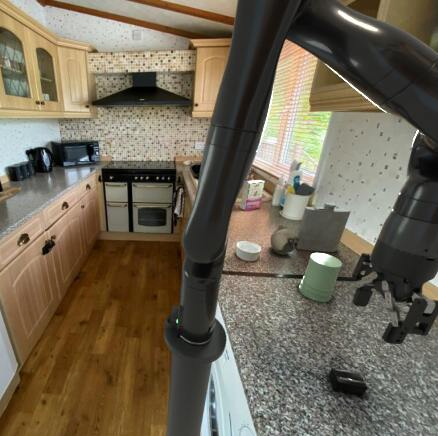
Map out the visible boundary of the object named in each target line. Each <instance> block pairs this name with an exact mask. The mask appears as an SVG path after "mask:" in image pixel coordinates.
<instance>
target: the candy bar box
mask: <svg viewBox="0 0 438 436" xmlns="http://www.w3.org/2000/svg"><path fill="white" fill-rule="evenodd" d="M265 183H266V181H264V180H261V179H253V180H246V181H245V183H244V185H243V187H242V193H241V199H240V205H239V208H240V209H241V210H243V211H251V210H259V209H260V208H261V205H262V199H263V194H264V190H265V189H264V188H265Z"/></svg>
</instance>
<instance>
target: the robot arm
mask: <svg viewBox="0 0 438 436" xmlns="http://www.w3.org/2000/svg"><path fill="white" fill-rule="evenodd" d="M286 40H287V41H289V42H291V43H292V44H294V45H296V46H297V47H300V48H301V49H303V50H304V51H306V52H307V53H309V54H310V55H312V56H314V58H316V59H318V60H319V61H321V62H322V63H323V64H324V65H326V66H327V67H328V68H329V69H330V70H331V71H333V73H335V74H336V75H337V76H339V77H340V78H341V79H343V81H344V82H346V83H347V84H348V85H350V86H351V87H352V88H353V89H355V90H356V91H357V92H358V93H359V94H361V95H362V96H363V97H365V98H366V99H367V100H368V101H370V102H371V103H372V104H373V105H374V106H377V107H378V108H379V109H380V110H382V111H383V112H385V113H387V114H389V115H391V116H393V117H396V118H400V119H402V120H404V121H405V122H407V123H408V124H409V125H410V126H412V127H413V128H414V129H415V130H417V131H416V133H415V134H414V135H415V136H414V137H413V141H412V144H411V148H410V153H409V157H408V162H407V167H406V175H405V180H404V183H403V185H402V186H401V189H400V190H399V193H398V195H397V197H396V199H395V202H394V204H393V207H392V209H391V211H390V212H389V214H388V216H387V217H386V219H385V221H384V222H383V224H382V227H381V230H380V232H379V234H378V236H377V238H376V241H375V244H374V246H373V247H372V251H371V253H366V252H361V254H360V257H359V258H358V261H357V263H356V265H355V267H354V269H353V272H352V274H351V278H352V280H355V281H356V283H355V286H356V289H355V293H354V294H353V299H352V301H351V302H352V304H353V305H354V306H355V307H362V308H364V307H365V308H366V307H368V305H369V302H370V299H371V298H372V296H373V294H374V291H375V292H377V293H379V294H380V296H381V297H382V298H383V300H384V301H385V308H386V310H388V311H389V314H390V321H389V322H388V324H387V325H386V328H385V330H384V331H383V333H382V336H381V339H382V341H383V342H384V343H386V344H390V345H391V344H392V345H402V344H403V343H404V341H405V339H406V338H407V336H408V335H410V334H411V335H416V336H424V337H426V336H428V335H429V333H430V331H431V329H432V327H433V325H434V323H435V322H436V319H437V318H438V300H437V299H431V298H429V297H427V296H426V295H425V294H423V286H424V284H426V283H428V282H430V281H432V280H434V278H436V276H437V275H438V52H437V51H436V50H434V49H433V48H432V47H430V45H427V44H426V43H425V42H423V41H422V40H421V39H419V38H417V37H416V36H414V35H413V34H411V33H409V32H407V31H406V30H404V29H402V28H401V27H398V26H396V25H394V24H391V23H389V22H386V21H383V20H381V19H377V18H374V17H372V16H369V15H366V14H364V13H361V12H358V11H356V10H354V9H353V8H351V7H348V6H347V5H346V4H344V3H343V2H341V1H340V0H237V2H236V9H235V15H234V22H233V27H232V35H231V41H230V46H229V51H228V56H227V60H226V62H225V63H226V64H225V67H224V70H223V74H222V77H221V82H220V84H219V87H218V91H217V95H216V99H215V102H214V107H213V111H212V114H211V118H210V121H209V125H208V129H207V133H206V138H205V142H204V148H203V152H202V158H201V163H200V168H199V174H198V179H197V180H198V181H197V189H196V193H195V197H194V201H193V204H192V208H191V211H190V213H189V216H188V219H187V222H186V224H185V226H184V229H183V232H182V234H181V246H182V251H183V252H184V254H185V255H184V259H183V263H182V266H181V275H180V276H181V279H180V291H179V301H178V306H177V305H172V306H171V314H170V315H168V316H167V317H166V320H167V322H168V323H169V324H170V329H176V330H177V335H176V337H177V338H181V339H182V340H183V341H184V342H186V343H187V344H190V345H193V346H203V345H206V344H208V343H209V342H210V341H211V340H212V337H213V329H214V326H215V325H216V322H215V318H216V314H217V310H218V302H219V296H220V290H221V284H222V279H223V278H222V277H223V272H224V266H225V259H226V255H227V249H228V248H227V247H228V242H229V236H230V228H229V227H230V222H231V218H232V213H233V210H234V207H235V205H236V202H237V200H238V198H239V196H240V193H241V191H242V190H243V185H244V183H245V181H247V178H248V176H249V173H250V171H251V169H252V167H253V164H254V162H255V158H256V156H257V154H258V150H259V147H260V145H261V142H262V138H263V136H264V132H265V130H266V127H267V123H268V119H269V114H270V110H271V105H272V100H273V95H274V89H275V88H274V86H275V83H276V75H277V70H278V66H279V63H280V62H279V61H280V58H281V54H282V51H283V48H284V45H285V42H286ZM362 272H364V273H362ZM373 290H374V291H373ZM396 303H400V304H401V303H405V306H398V305H397V304H396ZM401 312H402V313H403V315H404V319H401ZM214 322H215V324H214Z"/></svg>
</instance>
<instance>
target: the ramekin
mask: <svg viewBox="0 0 438 436" xmlns="http://www.w3.org/2000/svg"><path fill="white" fill-rule="evenodd" d="M235 246H236V251H235V254H236V257H238V258H239V259H240V260H243V261H247V262H256V261H257V260H258V259H259V256H260V254H261V251H262V248H261V246H260V245H259V244H257V243H256V242H252V241H248V240H243V241H242V240H241V241H238V242H237V243H236V245H235Z"/></svg>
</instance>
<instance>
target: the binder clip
mask: <svg viewBox="0 0 438 436" xmlns="http://www.w3.org/2000/svg"><path fill="white" fill-rule="evenodd" d="M327 378H328V380H329V383H330V384H331V386H332V389H333V390H334V391H335V392H340V393H344V394H349V395H356V396H360V397H364V396H365V394H366V392H367V390H368V389H369V386H368V385H367V384H366V382H365V381H364V379H363V377H362V375H361V374H360V372H355V371H350V370H345V369H340V368H333V367H331V368H330V371H329V373H328V374H327Z"/></svg>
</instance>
